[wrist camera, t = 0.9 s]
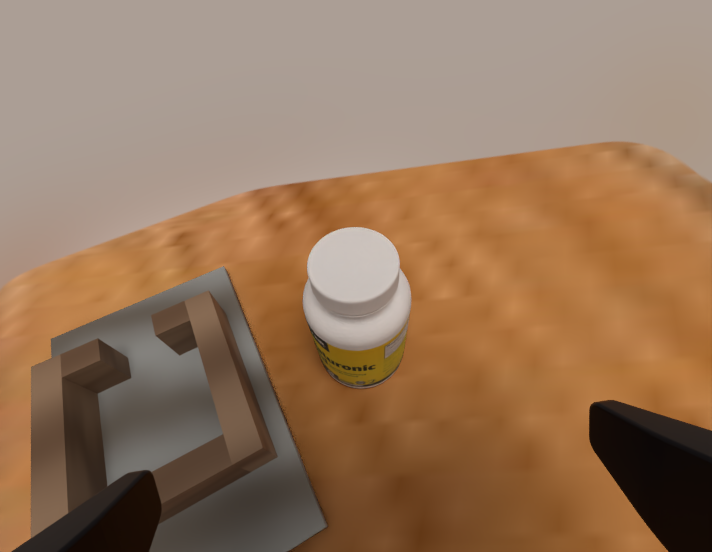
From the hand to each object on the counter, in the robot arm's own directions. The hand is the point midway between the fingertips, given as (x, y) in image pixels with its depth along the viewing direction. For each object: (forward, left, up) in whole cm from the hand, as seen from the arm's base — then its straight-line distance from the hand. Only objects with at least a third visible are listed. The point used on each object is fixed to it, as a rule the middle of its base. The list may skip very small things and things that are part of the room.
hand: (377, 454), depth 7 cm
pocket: (+9, +9, -14) cm, 19 cm away
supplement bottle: (+7, -3, -14) cm, 16 cm away
